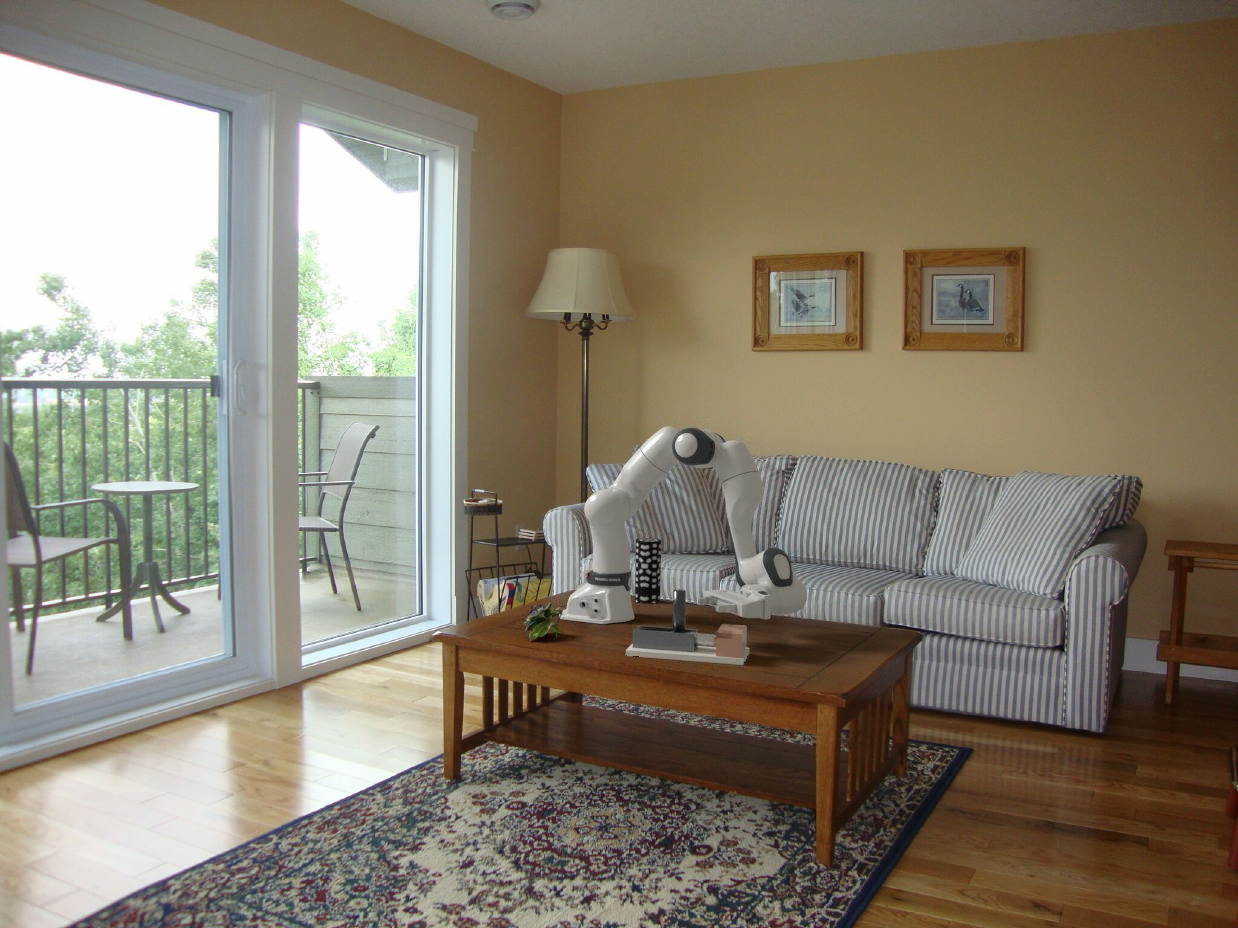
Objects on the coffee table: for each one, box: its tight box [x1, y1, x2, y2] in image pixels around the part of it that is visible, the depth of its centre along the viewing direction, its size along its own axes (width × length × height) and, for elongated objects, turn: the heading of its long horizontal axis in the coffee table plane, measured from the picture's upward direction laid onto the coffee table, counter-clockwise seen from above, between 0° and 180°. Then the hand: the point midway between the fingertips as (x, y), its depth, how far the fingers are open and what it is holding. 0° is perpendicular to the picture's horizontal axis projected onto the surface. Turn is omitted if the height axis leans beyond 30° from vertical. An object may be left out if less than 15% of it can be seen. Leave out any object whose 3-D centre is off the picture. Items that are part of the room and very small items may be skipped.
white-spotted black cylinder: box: [634, 537, 662, 604], centre depth 327 cm, size 8×8×20 cm
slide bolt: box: [671, 588, 716, 647], centre depth 258 cm, size 16×3×14 cm, turn 76°
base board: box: [625, 642, 750, 666], centre depth 259 cm, size 30×12×2 cm, turn 76°
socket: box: [715, 623, 748, 658], centre depth 256 cm, size 6×10×6 cm, turn 166°
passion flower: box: [523, 602, 563, 642], centre depth 276 cm, size 11×11×12 cm
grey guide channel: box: [632, 624, 699, 652], centre depth 261 cm, size 16×6×5 cm, turn 76°
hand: (707, 605), depth 262 cm, fingers open, 8 cm apart
